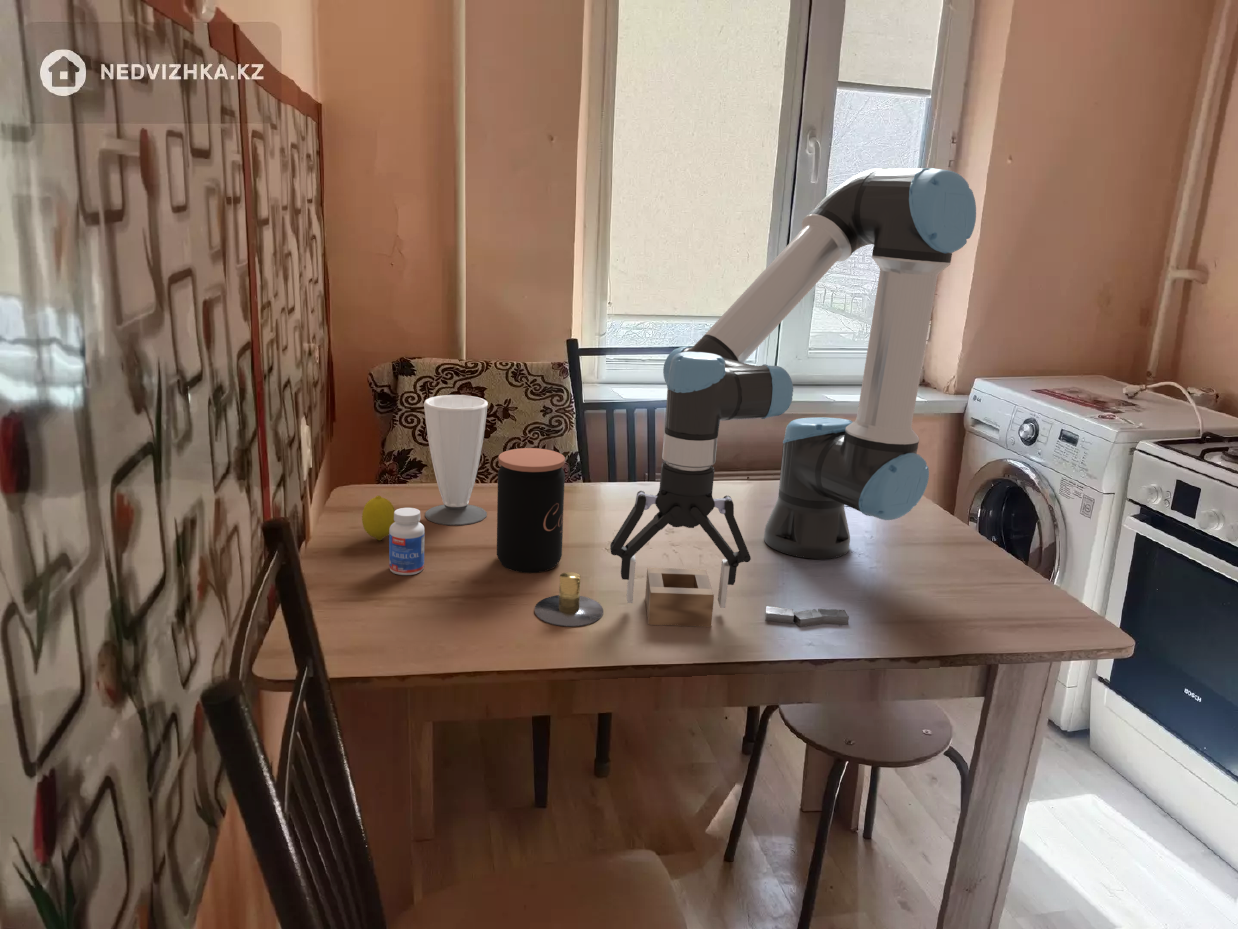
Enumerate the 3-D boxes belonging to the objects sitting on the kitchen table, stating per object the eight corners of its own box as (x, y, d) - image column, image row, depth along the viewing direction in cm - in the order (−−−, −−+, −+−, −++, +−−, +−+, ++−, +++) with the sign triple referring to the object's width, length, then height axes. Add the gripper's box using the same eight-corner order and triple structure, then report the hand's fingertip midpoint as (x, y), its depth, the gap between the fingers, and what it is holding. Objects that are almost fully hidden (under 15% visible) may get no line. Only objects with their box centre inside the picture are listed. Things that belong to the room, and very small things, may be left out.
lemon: (356, 542, 155) (354, 497, 153) (376, 532, 160) (374, 488, 158) (383, 548, 153) (382, 503, 151) (402, 537, 158) (401, 494, 156)
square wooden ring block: (703, 600, 140) (706, 569, 138) (711, 626, 131) (714, 594, 130) (645, 597, 139) (647, 567, 138) (648, 624, 131) (650, 592, 129)
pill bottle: (387, 576, 142) (386, 517, 139) (390, 563, 147) (389, 505, 145) (423, 576, 143) (423, 517, 140) (425, 562, 148) (425, 505, 145)
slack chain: (843, 616, 137) (844, 608, 137) (850, 628, 133) (851, 621, 133) (762, 613, 136) (763, 605, 136) (767, 625, 132) (768, 618, 132)
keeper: (602, 597, 139) (604, 564, 137) (603, 627, 129) (605, 592, 128) (536, 595, 138) (537, 561, 137) (532, 625, 129) (533, 589, 127)
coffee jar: (551, 578, 145) (555, 469, 140) (487, 569, 147) (488, 462, 142) (568, 554, 155) (572, 451, 150) (508, 546, 157) (510, 445, 152)
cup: (481, 503, 177) (482, 394, 171) (492, 523, 167) (493, 408, 161) (421, 506, 174) (419, 395, 167) (428, 527, 163) (427, 409, 157)
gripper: (771, 460, 133) (755, 595, 139) (599, 451, 132) (591, 586, 138) (781, 475, 126) (764, 616, 132) (600, 465, 125) (590, 608, 130)
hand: (675, 601), depth 135 cm, fingers open, 13 cm apart
